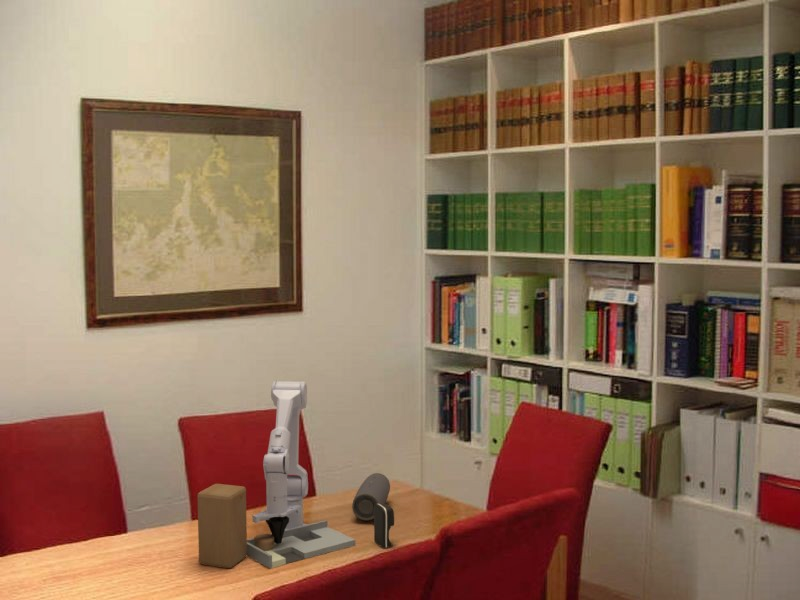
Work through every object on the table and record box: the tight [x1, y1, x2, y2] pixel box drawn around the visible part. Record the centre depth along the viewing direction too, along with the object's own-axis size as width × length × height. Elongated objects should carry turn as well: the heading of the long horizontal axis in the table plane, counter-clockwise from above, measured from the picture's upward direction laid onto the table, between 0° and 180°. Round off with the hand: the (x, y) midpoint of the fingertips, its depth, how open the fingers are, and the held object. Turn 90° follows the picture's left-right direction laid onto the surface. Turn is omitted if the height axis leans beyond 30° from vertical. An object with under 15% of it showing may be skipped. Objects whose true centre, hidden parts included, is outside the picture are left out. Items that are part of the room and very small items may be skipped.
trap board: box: [246, 520, 356, 569], centre depth 277 cm, size 15×28×3 cm, turn 128°
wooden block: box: [197, 483, 248, 569], centre depth 267 cm, size 10×10×20 cm
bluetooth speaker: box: [351, 472, 391, 521], centre depth 308 cm, size 23×9×10 cm, turn 172°
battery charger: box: [373, 503, 395, 549], centre depth 280 cm, size 7×4×11 cm, turn 25°
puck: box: [253, 533, 274, 551], centre depth 273 cm, size 6×6×3 cm
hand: (277, 542), depth 276 cm, fingers closed
